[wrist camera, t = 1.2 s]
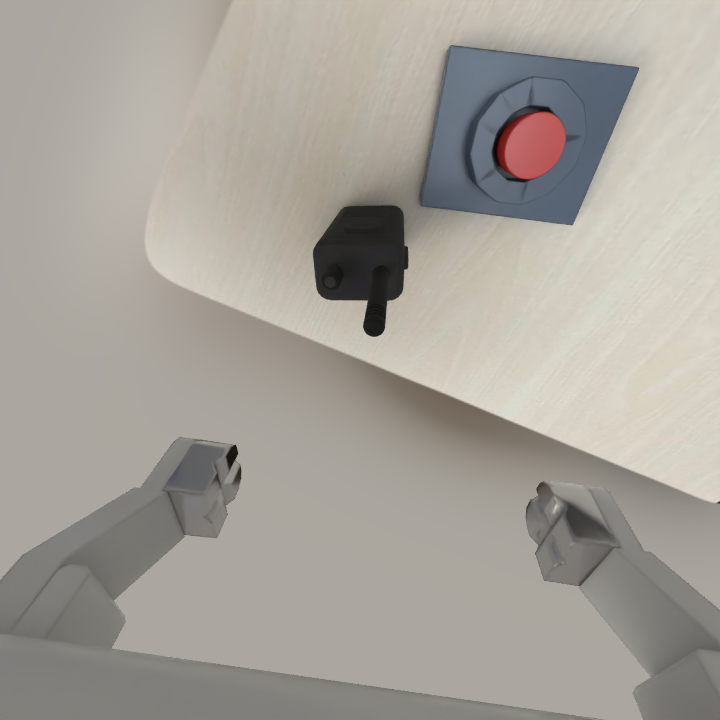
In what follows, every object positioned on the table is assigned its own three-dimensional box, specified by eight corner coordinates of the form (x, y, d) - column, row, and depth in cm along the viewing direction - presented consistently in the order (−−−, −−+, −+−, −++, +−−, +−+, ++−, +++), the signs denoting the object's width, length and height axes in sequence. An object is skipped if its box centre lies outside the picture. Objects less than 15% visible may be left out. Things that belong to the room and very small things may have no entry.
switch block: (419, 202, 24) (421, 211, 22) (447, 49, 20) (454, 37, 17) (565, 221, 24) (585, 232, 21) (628, 70, 19) (661, 61, 17)
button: (489, 172, 20) (496, 175, 19) (507, 109, 19) (515, 108, 17) (541, 178, 20) (552, 182, 19) (563, 116, 19) (577, 115, 17)
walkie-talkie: (340, 250, 26) (288, 362, 14) (337, 202, 25) (273, 281, 12) (405, 250, 26) (409, 365, 14) (407, 201, 24) (414, 281, 12)
